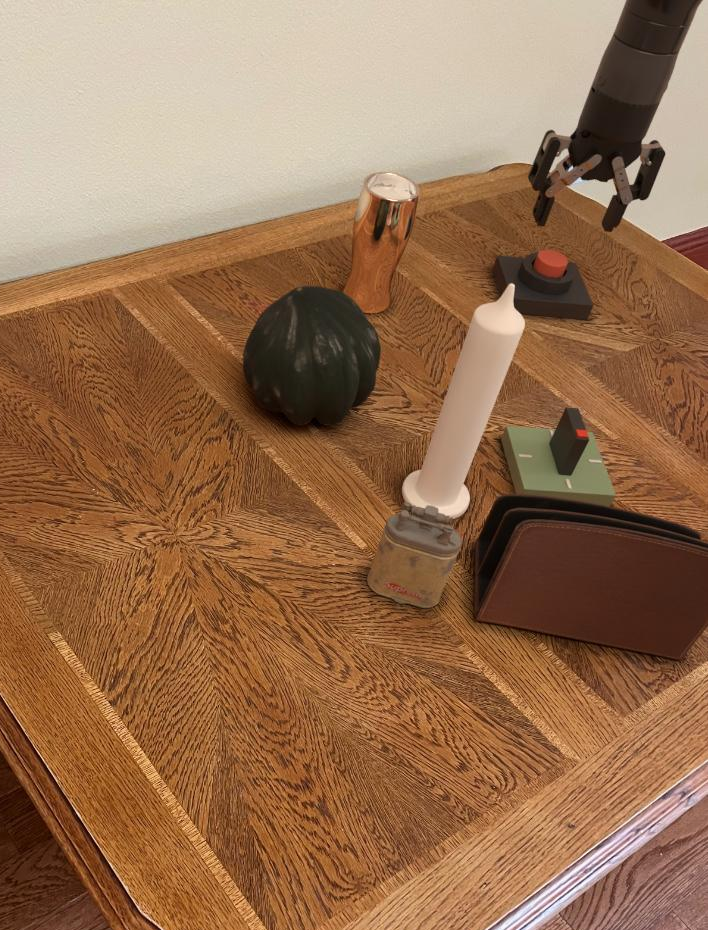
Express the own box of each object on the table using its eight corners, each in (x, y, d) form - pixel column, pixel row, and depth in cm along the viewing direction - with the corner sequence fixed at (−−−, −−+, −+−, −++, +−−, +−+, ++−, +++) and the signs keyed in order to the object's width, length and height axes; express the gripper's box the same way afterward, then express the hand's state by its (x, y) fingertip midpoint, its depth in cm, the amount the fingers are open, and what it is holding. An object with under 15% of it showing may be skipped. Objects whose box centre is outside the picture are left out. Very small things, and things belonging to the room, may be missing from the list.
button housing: (569, 277, 129) (580, 250, 126) (587, 320, 123) (599, 293, 119) (491, 269, 128) (501, 242, 125) (505, 312, 121) (516, 285, 118)
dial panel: (585, 445, 106) (593, 430, 104) (608, 508, 100) (617, 494, 98) (500, 439, 105) (506, 424, 103) (518, 502, 99) (524, 487, 97)
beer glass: (390, 320, 117) (420, 206, 106) (335, 309, 117) (359, 194, 106) (394, 290, 122) (423, 177, 110) (341, 280, 122) (364, 166, 110)
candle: (459, 530, 95) (545, 318, 76) (393, 506, 96) (462, 292, 77) (474, 487, 99) (560, 276, 80) (411, 465, 101) (481, 251, 81)
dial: (548, 442, 102) (566, 405, 98) (561, 443, 103) (579, 406, 98) (558, 474, 99) (577, 436, 95) (571, 475, 99) (590, 438, 95)
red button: (559, 263, 124) (564, 250, 122) (566, 280, 121) (571, 267, 120) (530, 260, 123) (534, 247, 122) (536, 277, 121) (541, 265, 119)
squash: (419, 356, 104) (354, 235, 97) (372, 437, 95) (297, 310, 88) (319, 389, 113) (253, 281, 106) (267, 465, 105) (192, 353, 98)
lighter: (442, 587, 90) (473, 514, 82) (435, 616, 88) (466, 544, 80) (371, 565, 91) (394, 491, 83) (362, 593, 88) (385, 519, 81)
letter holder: (681, 662, 87) (761, 563, 77) (472, 622, 88) (522, 517, 77) (668, 583, 94) (740, 481, 83) (473, 545, 94) (519, 438, 83)
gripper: (679, 77, 105) (618, 214, 117) (557, 64, 103) (509, 205, 116) (702, 108, 100) (636, 247, 113) (575, 94, 98) (523, 237, 111)
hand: (572, 225), depth 114 cm, fingers open, 8 cm apart
